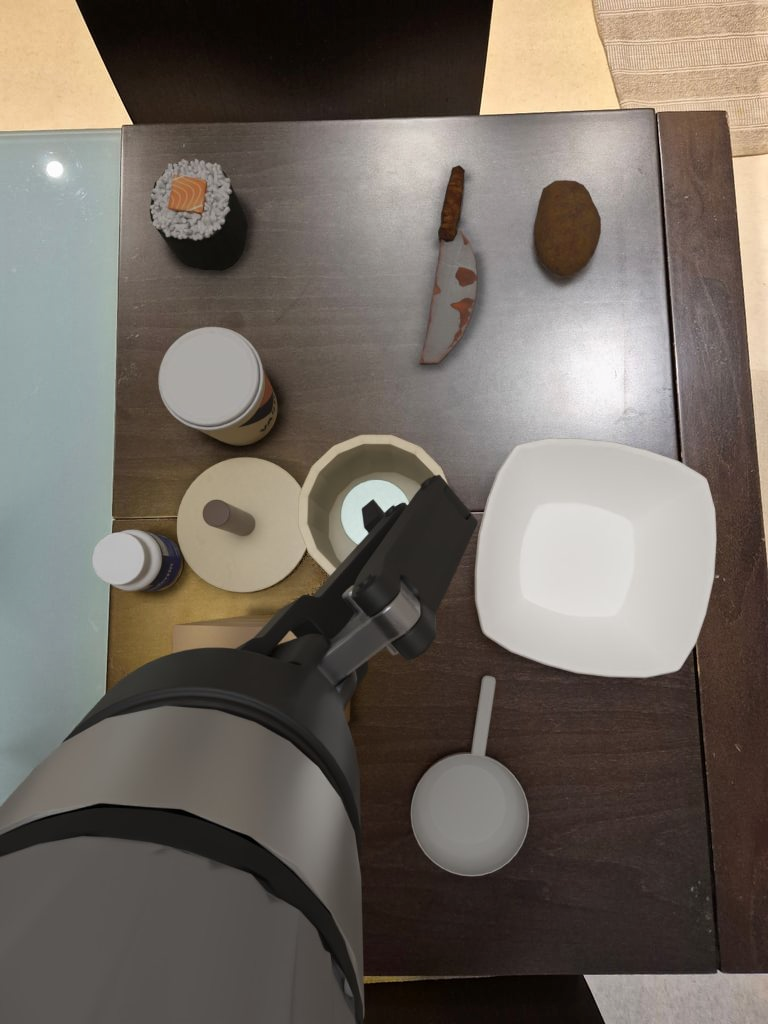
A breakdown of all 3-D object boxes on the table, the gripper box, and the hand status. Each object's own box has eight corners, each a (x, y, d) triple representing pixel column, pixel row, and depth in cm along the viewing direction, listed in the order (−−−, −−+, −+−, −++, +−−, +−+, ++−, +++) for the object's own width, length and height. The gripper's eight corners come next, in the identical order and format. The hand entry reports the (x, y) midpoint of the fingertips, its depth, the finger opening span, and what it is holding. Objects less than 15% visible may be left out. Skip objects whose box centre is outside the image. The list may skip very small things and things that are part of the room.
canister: (352, 556, 73) (339, 549, 61) (353, 497, 74) (341, 478, 62) (412, 557, 73) (411, 550, 61) (413, 497, 74) (412, 479, 62)
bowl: (489, 440, 74) (498, 420, 66) (695, 476, 73) (732, 461, 64) (453, 643, 72) (458, 650, 64) (664, 684, 71) (698, 697, 62)
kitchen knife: (465, 369, 75) (416, 360, 74) (462, 373, 76) (415, 364, 76) (498, 171, 76) (451, 161, 76) (494, 179, 78) (448, 169, 77)
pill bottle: (153, 603, 74) (112, 604, 64) (118, 560, 75) (72, 555, 65) (196, 565, 74) (162, 561, 64) (161, 523, 75) (122, 512, 65)
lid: (177, 591, 74) (134, 590, 63) (183, 458, 76) (142, 435, 65) (310, 593, 73) (291, 593, 62) (314, 459, 75) (296, 436, 64)
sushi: (167, 268, 78) (139, 231, 70) (180, 194, 79) (154, 149, 71) (241, 276, 78) (221, 240, 70) (254, 202, 78) (235, 158, 70)
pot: (319, 588, 73) (295, 587, 59) (323, 464, 75) (300, 433, 60) (446, 591, 73) (452, 590, 58) (447, 465, 74) (453, 435, 60)
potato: (587, 193, 77) (602, 158, 70) (600, 282, 76) (616, 255, 69) (524, 201, 77) (533, 167, 71) (536, 290, 76) (546, 263, 70)
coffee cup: (284, 454, 75) (259, 428, 63) (194, 453, 76) (152, 427, 64) (287, 365, 76) (262, 323, 64) (198, 365, 77) (157, 323, 65)
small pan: (403, 851, 70) (402, 865, 66) (431, 662, 72) (432, 666, 68) (515, 871, 70) (520, 887, 66) (541, 681, 71) (548, 685, 68)
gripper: (-113, 1312, 17) (144, 817, 38) (744, 627, 16) (519, 509, 37) (-363, 1096, 16) (43, 711, 37) (530, 352, 15) (424, 392, 36)
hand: (280, 610), depth 37 cm, fingers open, 13 cm apart
